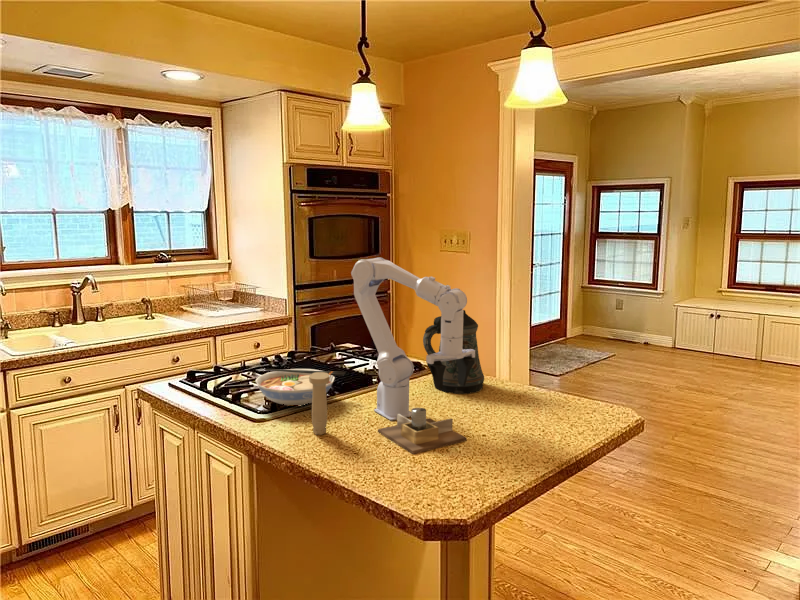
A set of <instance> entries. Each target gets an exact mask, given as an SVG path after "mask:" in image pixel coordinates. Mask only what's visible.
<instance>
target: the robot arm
mask: <svg viewBox="0 0 800 600" xmlns="http://www.w3.org/2000/svg"><path fill="white" fill-rule="evenodd" d="M350 274H351V278H352V279H353V296H354V299H355V301H356V303H357V305H358V308H359V311H360V313H361V315H362V317H363V319H364V322H365V324H366V326H367V329H368V331H369V334H370V336H371V338H372V340H373V343H374V346H375V348H376V350H377V353H378V357H377V360H376V366H377V368H378V377H379V380H380V382H379V383H378V385H377V388H376V408H374V409H373V411H374V412H376V413H377V414H379V415H380V416H382V417H384V418H386V419H388V420H389V421H395V420H396V421H397V414H400V415H402V416H404V417H406V418H410V417H411V410H410V377H411V376H412V375H413V373H414V370H415V369H414V363H413V362H412V360H411V359H410V358H409V357H408V356H407V355H406V352H405V350H403V349H402V348H401V347H399V346H398V344H397V343H396V340H395V338H394V336H393V333H392V331H391V329H390V326H389V324H388V322H387V319H386V317H385V315H384V312H383V309H382V307H381V305H380V303H379V301H378V298H377V296H376V293H377V291H378V288H379V287H380V285H381V284H382V283H383V282H384V280H388V279H389V280H392V281H395V282H396V283H399V284H401V285H403V286H406V287H408V288H410V289H412V290H414V291H415V292H414V293H415V294H416V297H418V298H420V299H423V300H424V301H427V303H431V304H432V305H434V306H435V307H436V306H437V307H438V310H439V311H440V313H441V315H440V316H441V334H440V340H441V346H440V345H439V346H440V352H439V351H438V352H436V353H434V354H430V355H428V354H426V357H425V362H426V366H427V368H428V369H429V370H430V373H431V376H432V380H434V381H433V385H434V384H435V386H434V388H435V389H436V390H437V391H439V390H442V387H443V375H444V371H445V368H446V366H445V365H442V363H441V362H442V361H449V360H455V359H456V361H457V366H458V383H459V384H460V385H462V386H465V384H466V381H467V377H468V374H469V372H470V370H471V368H472V366H473V365H474V363H475V360H474V359H472V358H473V357H475V350H473V349H462V346H463V310H464V309H465V308H466V306H467V304H468V297H467V295H466V293H465V292H464V291H463V290H462V289H460V288H457V287H455V288H452V289H451V287H452V286H451V285H448V284H446V285H445V284H443V283H441V282H439V281H437V280H436V277H434V276H432V275H431V276H424V277H422V278H421V277H419V276H417V275H415V274H414V273H411V272H410V271H408V270H406V269H404V268H402V267H401V266H398V265H397V264H395V263H393V262H392V261H391V260H388V259H385V258H383V257H379V256H378V257H374V258H367V259H358V261H356V262H355V264H354V265H353V268H352V270H351V272H350Z"/></svg>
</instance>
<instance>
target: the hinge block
mask: <svg viewBox="0 0 800 600" xmlns="http://www.w3.org/2000/svg"><path fill="white" fill-rule="evenodd" d="M378 432H379V434H380V433H381V434H380V435H382V436H383V435H384V436H383V437H385V438H386V439H388V440H390V441H391V442H393V443H395V444H396V445H397V446H399V447H401V448H402V449H404V450H406V451H407V452H409V453H410V454H411V455H414V454H419V453H424V452H426V451H430V450H435V449H439V448H442V447H443V448H444V447H446V446H451V445H454V444H459V443H463V442H467V440H468V439H467V438H468V437H466V436H464V435H462V434H460V433H458V432H456V431H454V430H453V418H447V419H442V420H437V421H435V420H434V419H432V418H430V417H428V418H426V429H425V430H421V431H415V430H413V429H412V424H411V419H409V417H404V416H402V415H400V414H397V420H396V425H391V426H387V427H382V428H378V429H377V433H378Z"/></svg>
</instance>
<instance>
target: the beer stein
mask: <svg viewBox="0 0 800 600" xmlns="http://www.w3.org/2000/svg"><path fill="white" fill-rule="evenodd" d="M462 310H463V346H462V349H473V350H475V357H473V358H472V359H474V360H475V363H474V365H473V366H472V368H471V370H470V372H469V374H468V377H467V381H466V384H465V386H462V385H460V384H459V383H458V366H457V361H456V359H455V360H449V361H442V362H441V363H442V365H445V366H446V368H445V371H444V375H443V387H442V390H438V391H440V392H443V393H447V394H455V395H469V394H476V393H478V392H481V390H483V386H484V382H485V374H484V373H483V372H484V371H483V370H482V366H481V362H480V360H481V359H480V355H479V348H478V339H477V331H478V329H479V324H478V323H477V321H476V320H475V319H473V318H472V317H471V316H469V315H468V314H467V313H466V310H465V309H462ZM436 334H437V335H439V334H440V335H441V315H440V316H437V317H434V318H433V324H431V325H429V326H428V327H426V329H425V331H424V334H423V337H422V338H423V339H422V342H423V343H422V344H423V348H424V351H425V352H426V355H430V354H434V353H437V352H436V351H435V349H434V348H433V345H432V338H433V336H434V335H436ZM440 346H441V339H440V341H439V346H438V352H440ZM432 380H433V379H432ZM433 382H434V380H433ZM433 385H434V387H435V384H434V383H433Z"/></svg>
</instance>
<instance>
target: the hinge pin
mask: <svg viewBox="0 0 800 600" xmlns="http://www.w3.org/2000/svg"><path fill="white" fill-rule="evenodd" d="M410 411H411V419H410V420H411V424H412V429H413V430H415V431H421V430H425V429H426V419H427V409H426V408H423V407H414V408H411V410H410Z"/></svg>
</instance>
